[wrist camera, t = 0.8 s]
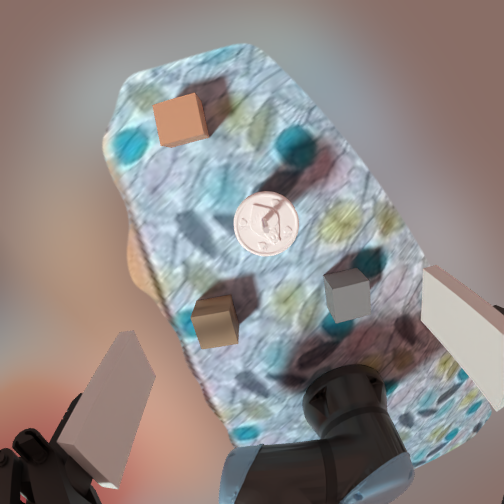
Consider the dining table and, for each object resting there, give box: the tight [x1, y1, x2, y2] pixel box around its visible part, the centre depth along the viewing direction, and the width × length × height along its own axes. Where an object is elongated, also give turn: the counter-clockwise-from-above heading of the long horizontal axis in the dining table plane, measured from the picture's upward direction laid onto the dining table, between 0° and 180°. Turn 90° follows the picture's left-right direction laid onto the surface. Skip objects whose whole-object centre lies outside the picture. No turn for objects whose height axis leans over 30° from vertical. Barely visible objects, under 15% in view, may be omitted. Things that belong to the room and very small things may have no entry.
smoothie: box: [234, 191, 299, 256], centre depth 31 cm, size 6×6×14 cm
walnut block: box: [191, 294, 239, 349], centre depth 40 cm, size 5×5×5 cm
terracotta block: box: [153, 93, 209, 148], centre depth 32 cm, size 5×5×5 cm
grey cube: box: [323, 268, 371, 323], centre depth 39 cm, size 5×5×5 cm
